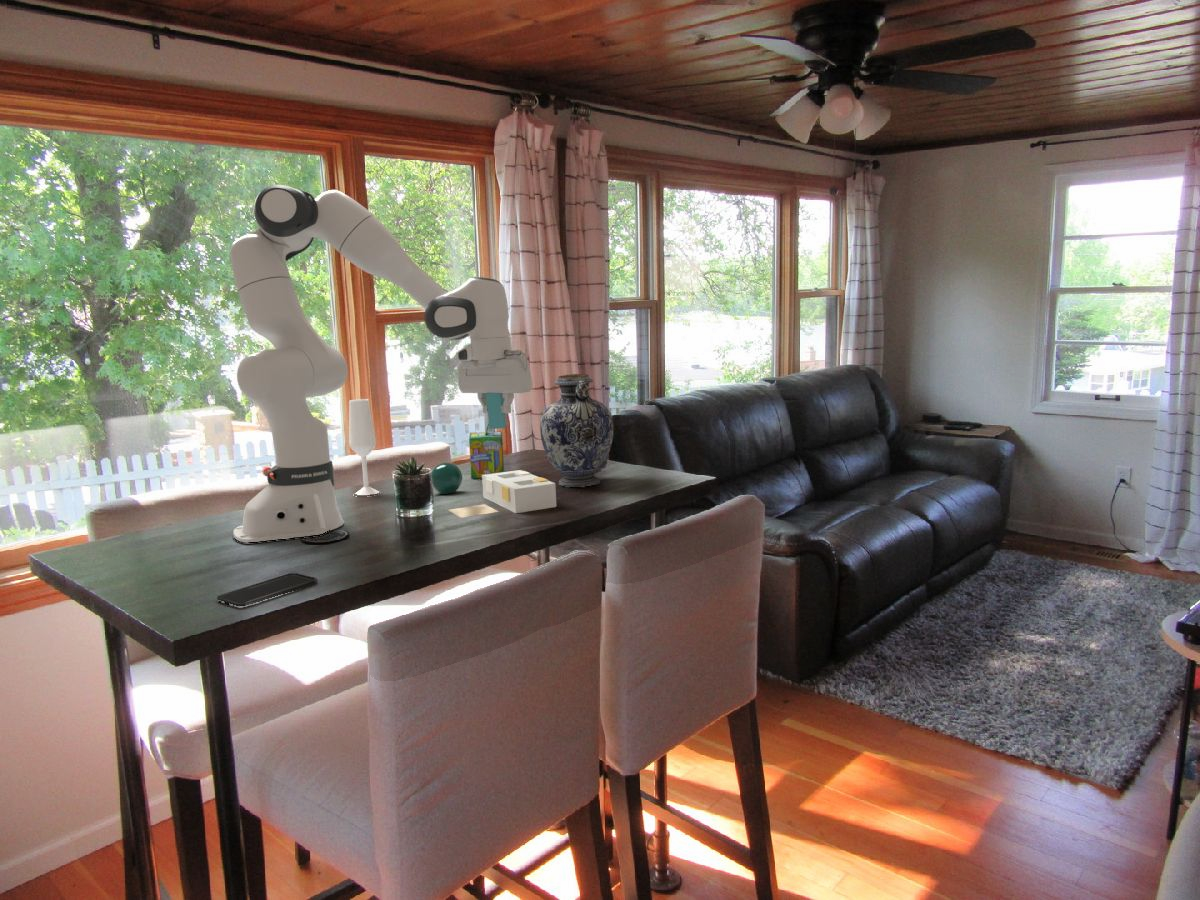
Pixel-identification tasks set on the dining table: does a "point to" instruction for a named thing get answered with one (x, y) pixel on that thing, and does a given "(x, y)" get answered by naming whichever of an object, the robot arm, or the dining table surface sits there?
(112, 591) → the dining table surface
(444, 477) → the sphere
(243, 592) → the phone
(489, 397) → the plug
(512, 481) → the block
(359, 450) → the champagne flute
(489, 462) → the chalk box
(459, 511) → the coaster
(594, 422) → the decorative vase
